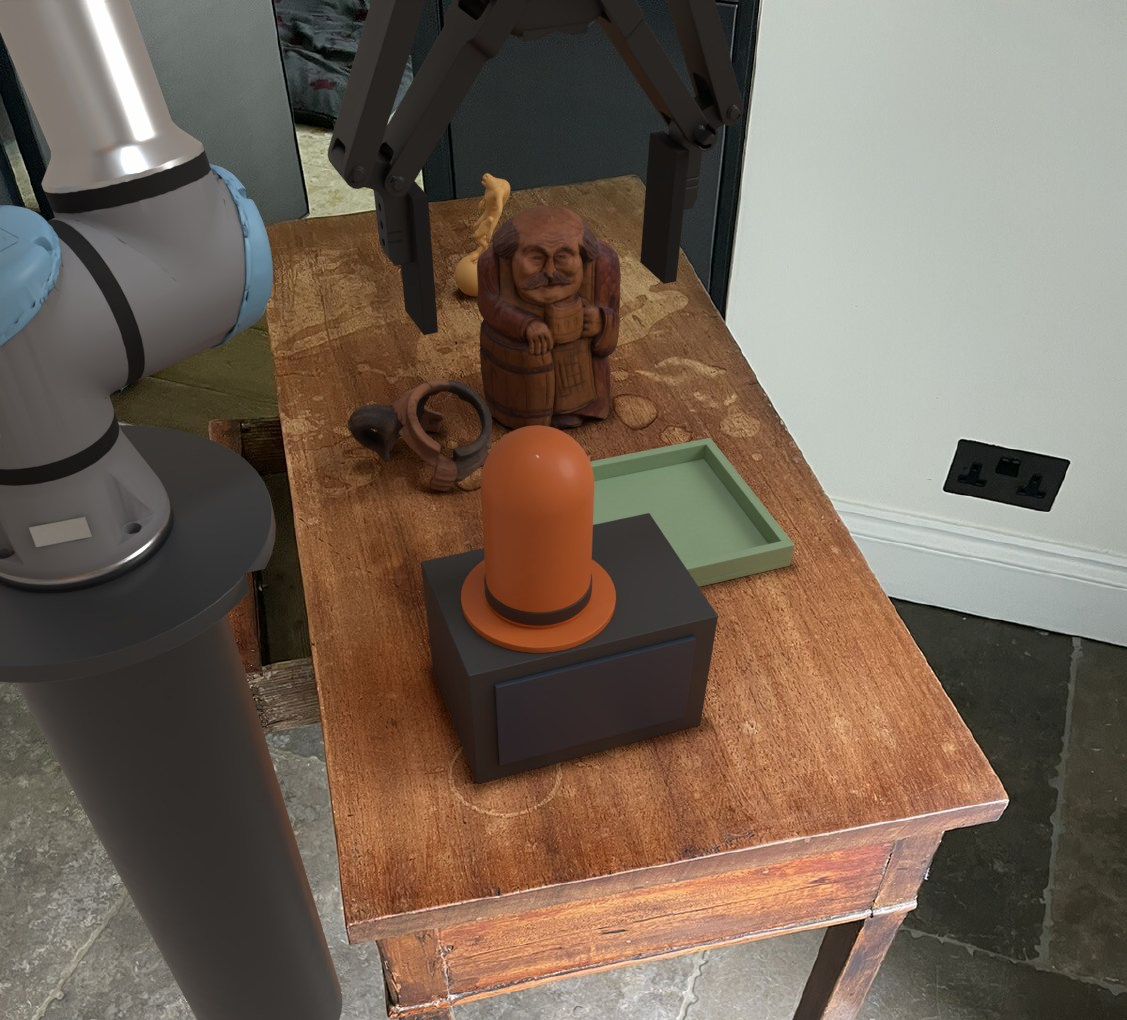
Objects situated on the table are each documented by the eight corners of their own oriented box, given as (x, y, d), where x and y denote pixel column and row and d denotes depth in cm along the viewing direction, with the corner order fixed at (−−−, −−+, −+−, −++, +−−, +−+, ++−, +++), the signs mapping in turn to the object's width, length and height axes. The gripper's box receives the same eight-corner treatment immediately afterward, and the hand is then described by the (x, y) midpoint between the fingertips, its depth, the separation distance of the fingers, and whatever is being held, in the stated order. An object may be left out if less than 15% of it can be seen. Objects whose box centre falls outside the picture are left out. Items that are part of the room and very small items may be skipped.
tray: (540, 492, 90) (539, 471, 89) (707, 458, 94) (710, 437, 92) (606, 608, 81) (607, 587, 79) (790, 565, 84) (794, 544, 83)
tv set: (432, 671, 76) (420, 561, 69) (639, 622, 80) (649, 512, 72) (478, 787, 69) (469, 679, 62) (702, 727, 73) (720, 618, 65)
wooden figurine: (495, 441, 95) (486, 235, 82) (480, 403, 99) (469, 201, 86) (621, 423, 97) (633, 220, 84) (601, 387, 101) (609, 187, 88)
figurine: (453, 277, 116) (445, 158, 106) (508, 274, 116) (505, 155, 107) (458, 314, 110) (451, 192, 101) (516, 311, 111) (514, 189, 102)
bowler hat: (443, 568, 68) (427, 404, 59) (583, 538, 70) (589, 375, 61) (487, 669, 62) (477, 502, 53) (639, 632, 64) (653, 467, 56)
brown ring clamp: (466, 423, 98) (494, 370, 90) (479, 517, 95) (509, 470, 88) (335, 413, 93) (353, 355, 86) (345, 511, 91) (365, 460, 83)
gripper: (239, -230, 34) (335, 382, 50) (882, -260, 41) (784, 282, 57) (186, -264, 38) (290, 309, 54) (776, -286, 45) (713, 225, 61)
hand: (543, 296), depth 56 cm, fingers open, 13 cm apart
